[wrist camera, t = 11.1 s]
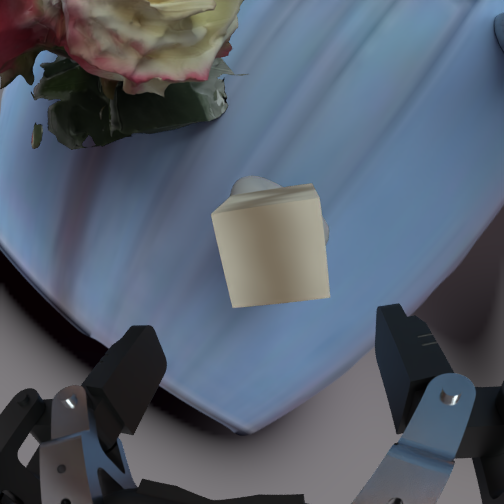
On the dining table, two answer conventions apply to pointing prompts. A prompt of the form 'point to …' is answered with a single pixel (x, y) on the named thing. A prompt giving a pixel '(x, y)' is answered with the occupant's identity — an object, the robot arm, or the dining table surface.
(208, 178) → the dining table surface
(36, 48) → the rose bouquet
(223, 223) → the birch cube
